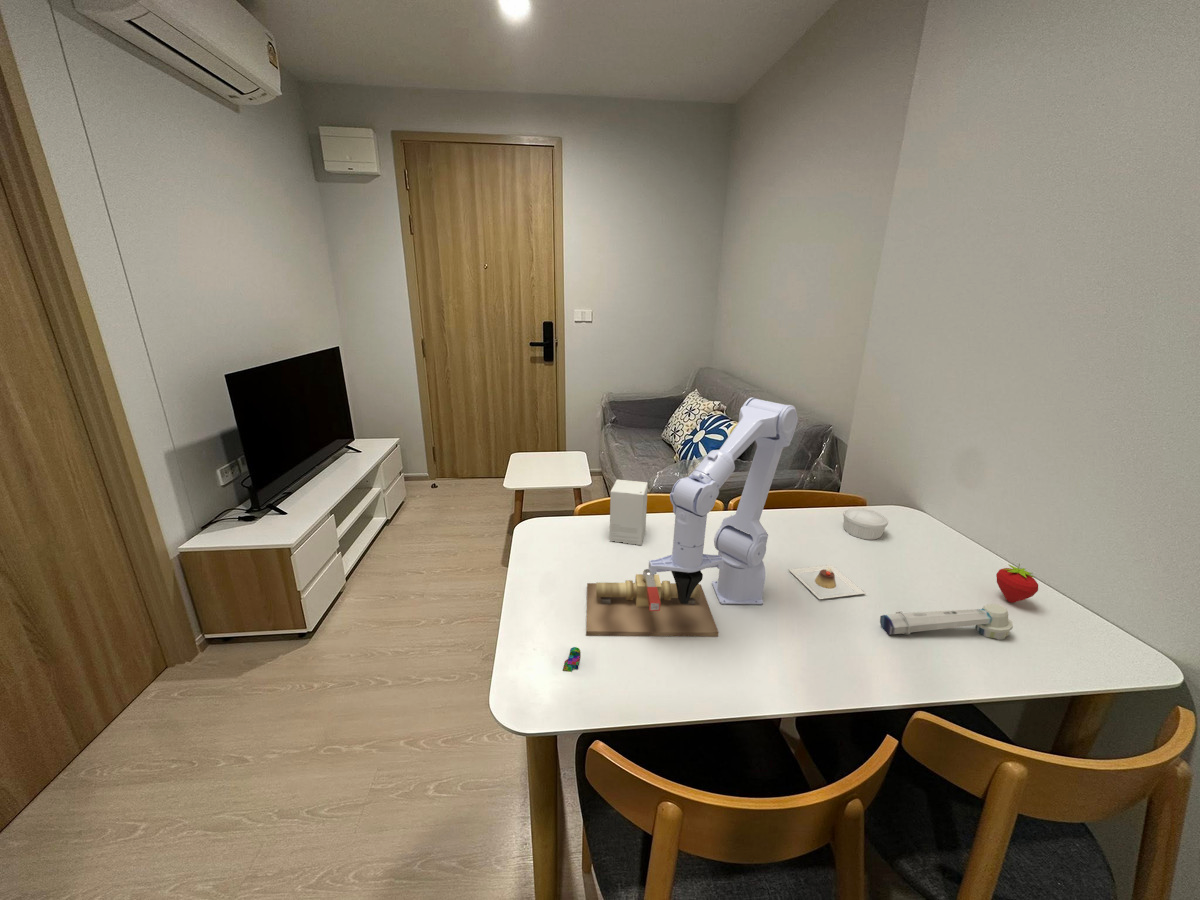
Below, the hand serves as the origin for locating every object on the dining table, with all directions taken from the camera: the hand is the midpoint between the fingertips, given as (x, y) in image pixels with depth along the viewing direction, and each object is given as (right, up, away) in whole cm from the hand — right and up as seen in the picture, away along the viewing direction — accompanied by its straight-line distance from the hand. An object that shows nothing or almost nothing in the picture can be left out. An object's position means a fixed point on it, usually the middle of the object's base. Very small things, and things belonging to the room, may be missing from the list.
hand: (682, 600), depth 93 cm
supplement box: (-9, +6, +37) cm, 39 cm away
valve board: (-6, -4, +7) cm, 10 cm away
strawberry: (+76, -5, +13) cm, 77 cm away
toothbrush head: (+54, -8, +3) cm, 54 cm away
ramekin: (+59, +6, +43) cm, 73 cm away
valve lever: (-6, +1, +3) cm, 7 cm away
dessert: (+37, -2, +18) cm, 41 cm away
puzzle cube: (-21, -10, -7) cm, 24 cm away
